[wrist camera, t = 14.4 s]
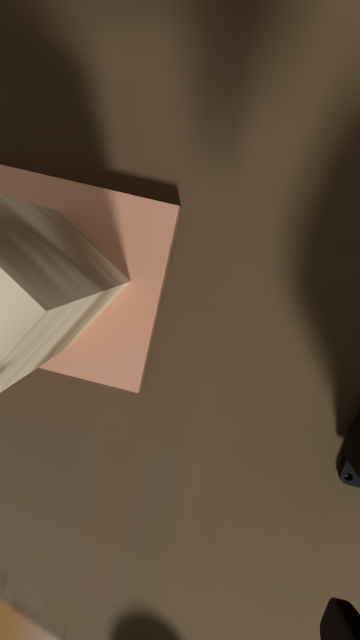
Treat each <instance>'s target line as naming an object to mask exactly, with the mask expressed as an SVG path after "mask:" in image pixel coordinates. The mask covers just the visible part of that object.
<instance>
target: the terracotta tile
mask: <svg viewBox="0 0 360 640" xmlns="http://www.w3.org/2000/svg"><path fill="white" fill-rule="evenodd" d="M0 194H2V195H6V196H9V197H13V198H16V199H20V200H23V201H27V202H30V203H34V204H38V205H41V206H45V207H48V208H52V209H55V210H59V211H60V212H61V213H62V214H63V215H64V216H65V217H66V218H67V219H68V220H69V221H70V222H71V223H72V224H73V225H74V226H75V227H76V228H77V229H78V230H79V231H80V232H81V233H82V234H83V235H84V236H85V237H86V238H87V239H88V240H89V241H90V242H91V243H92V244H93V245H94V246H95V247H96V248H97V249H98V250H99V251H100V252H101V253H102V254H103V255H104V256H106V257H107V258H108V259H109V260H110V261H111V262H112V263H113V264H114V265H115V266H116V267H117V268H118V269H119V270H120V271H121V272H122V273H123V274H124V275H125V276H126V277H127V278H128V279H129V280H130V281H131V282H130V283H129V284H128V285H127V286H126V287H125V288H124V289H123V290H122V291H121V292H120V293H119V294H118V296H117V297H116V298H115V299H114V300H113V301H112V302H111V303H110V304H109V305H108V306H107V307H106V308H105V309H104V310H103V311H102V312H101V314H100V315H99V316H98V317H97V318H96V319H95V320H94V321H93V322H92V323H91V324H90V325H89V326H88V327H87V328H86V329H85V330H84V331H83V333H82V334H81V335H80V336H79V337H78V338H77V339H76V340H75V341H74V342H73V343H72V344H71V345H70V346H69V347H68V348H67V349H65V350H64V351H62V352H61V353H59V354H58V355H56V356H54V357H53V358H51V359H50V360H48V361H47V362H45V363H44V364H42V365H41V366H39V367H38V368H42V369H46V370H50V371H54V372H57V373H61V374H65V375H69V376H73V377H77V378H81V379H85V380H89V381H93V382H97V383H101V384H105V385H108V386H112V387H116V388H120V389H124V390H128V391H132V392H136V393H139V391H140V389H141V387H142V385H143V380H144V376H145V371H146V367H147V362H148V358H149V353H150V349H151V344H152V339H153V335H154V330H155V326H156V321H157V317H158V312H159V308H160V303H161V299H162V294H163V290H164V285H165V281H166V276H167V272H168V267H169V263H170V258H171V253H172V249H173V244H174V240H175V235H176V231H177V226H178V222H179V217H180V213H181V207H180V206H178V205H174V204H169V203H165V202H161V201H156V200H152V199H148V198H143V197H139V196H135V195H130V194H126V193H122V192H117V191H113V190H109V189H104V188H100V187H96V186H91V185H87V184H83V183H78V182H74V181H70V180H65V179H61V178H57V177H52V176H48V175H44V174H39V173H35V172H31V171H26V170H22V169H18V168H13V167H9V166H5V165H0Z"/></svg>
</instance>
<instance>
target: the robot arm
mask: <svg viewBox="0 0 360 640" xmlns="http://www.w3.org/2000/svg"><path fill="white" fill-rule="evenodd" d="M343 455H344V457H343V460H342V463H341V465H340V468H339V471H338V476H339V478H340V479H341V481H342V482H343V483H345V484H347V485H351V486H355V487H359V488H360V415H359V417H357V418H356V419H355V422H354V424H353V427H352V430H351V432H350V435H349V438H348V440H347V443H346V446H345V448H344V451H343ZM346 474H350V475H349V476H348V477H345V475H346ZM320 637H321V640H360V614H359V613H358V611H357V610H356V609H355V608H354V607H353V605H352V604H351V603H350V602H348V601H346V600H342V599H338V598H335V597H332V598H331V599H330V600H329V602H328V604H327V607H326V609H325V612H324V615H323V617H322V620H321V623H320Z"/></svg>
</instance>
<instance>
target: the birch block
mask: <svg viewBox="0 0 360 640" xmlns="http://www.w3.org/2000/svg"><path fill="white" fill-rule="evenodd" d="M130 282H131V281H130V280H129V279H128V278H127V277H126V276H125V275H124V274H123V273H122V272H121V271H120V270H119V269H118V268H117V267H116V266H115V265H114V264H113V263H112V262H111V261H110V260H109V259H108V258H107V257H106V256H104V255H103V254H102V253H101V252H100V251H99V250H98V249H97V248H96V247H95V246H94V245H93V244H92V243H91V242H90V241H89V240H88V239H87V238H86V237H85V236H84V235H83V234H82V233H81V232H80V231H79V230H78V229H77V228H76V227H75V226H74V225H73V224H72V223H71V222H70V221H69V220H68V219H67V218H66V217H65V216H64V215H63V214H62V213H61V212H60V211H59V210H55V209H52V208H48V207H45V206H41V205H38V204H34V203H30V202H27V201H23V200H20V199H16V198H13V197H9V196H6V195H2V194H0V392H2V391H3V390H5V389H6V388H8V387H9V386H11V385H12V384H14V383H15V382H17V381H18V380H20V379H21V378H23V377H24V376H26V375H27V374H29V373H30V372H32V371H33V370H35V369H36V368H38V367H39V366H41V365H42V364H44V363H45V362H47V361H48V360H50V359H51V358H53V357H54V356H56V355H58V354H59V353H61V352H62V351H64V350H65V349H67V348H68V347H69V346H70V345H71V344H72V343H73V342H74V341H75V340H76V339H77V338H78V337H79V336H80V335H81V334H82V333H83V331H84V330H85V329H86V328H87V327H88V326H89V325H90V324H91V323H92V322H93V321H94V320H95V319H96V318H97V317H98V316H99V315H100V314H101V312H102V311H103V310H104V309H105V308H106V307H107V306H108V305H109V304H110V303H111V302H112V301H113V300H114V299H115V298H116V297H117V296H118V294H119V293H120V292H121V291H122V290H123V289H124V288H125V287H126V286H127V285H128V284H129V283H130Z"/></svg>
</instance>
